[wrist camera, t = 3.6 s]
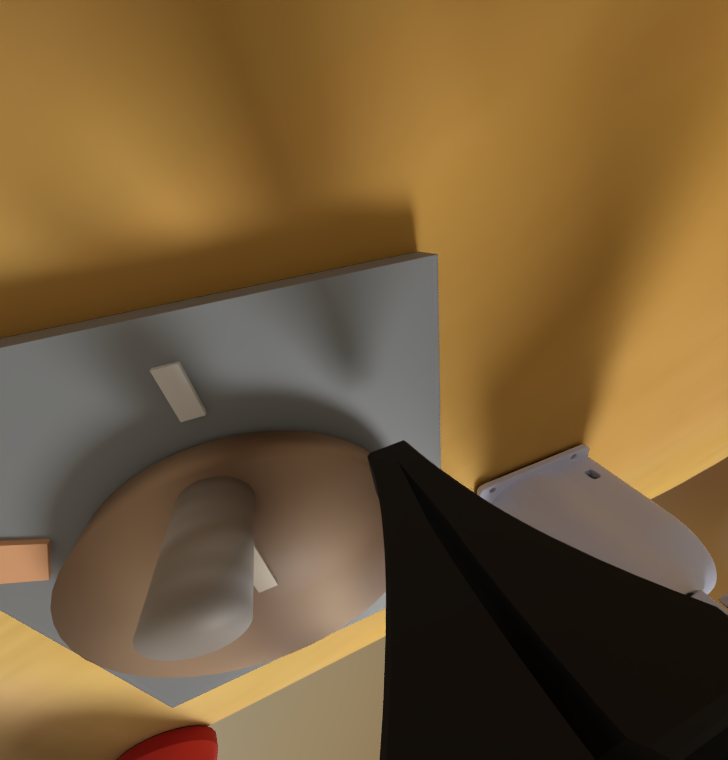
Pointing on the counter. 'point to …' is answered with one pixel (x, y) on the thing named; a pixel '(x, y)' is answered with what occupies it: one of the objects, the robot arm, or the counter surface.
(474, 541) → the robot arm
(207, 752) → the canned food
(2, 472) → the board
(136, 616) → the dial
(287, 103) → the counter surface
